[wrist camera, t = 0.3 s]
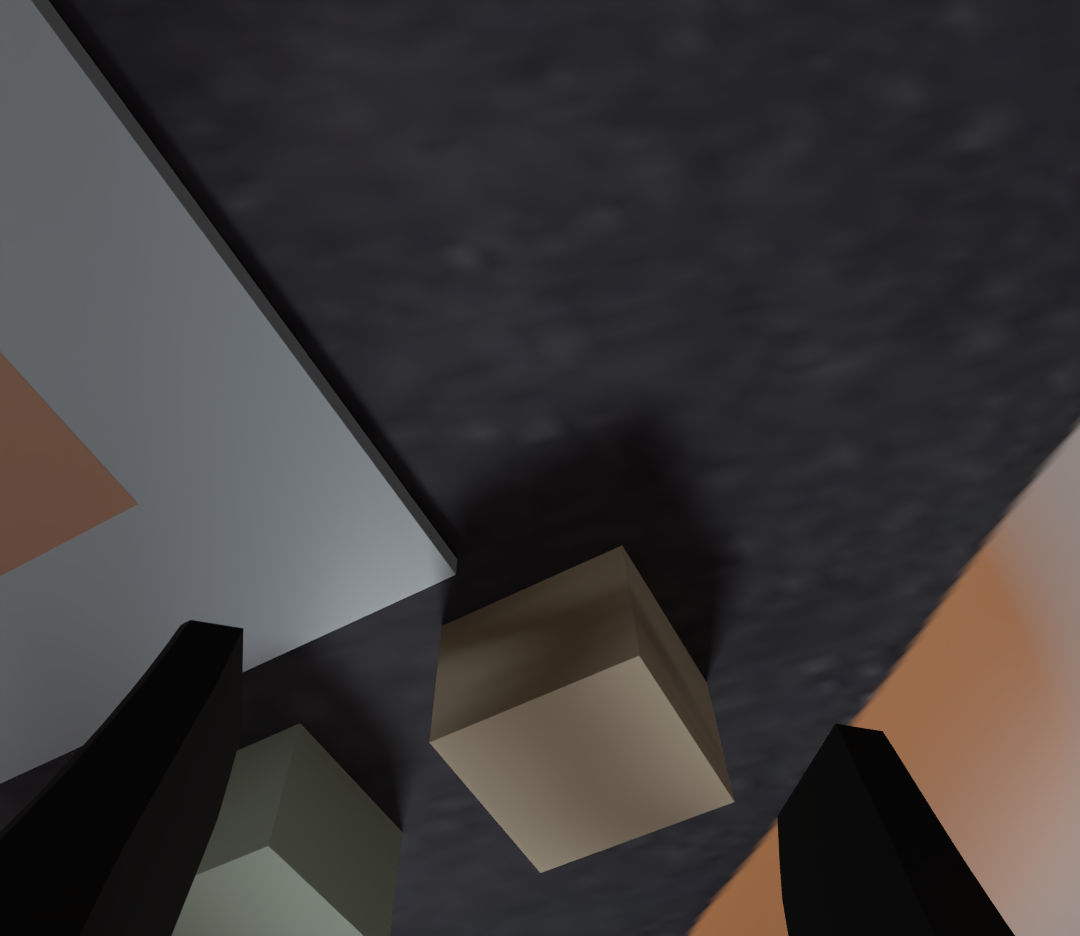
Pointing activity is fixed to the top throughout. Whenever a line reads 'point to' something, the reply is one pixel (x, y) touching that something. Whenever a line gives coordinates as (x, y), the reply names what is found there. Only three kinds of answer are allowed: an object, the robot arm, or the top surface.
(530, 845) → the beech block
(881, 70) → the top surface
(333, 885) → the sage block
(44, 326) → the baseplate
